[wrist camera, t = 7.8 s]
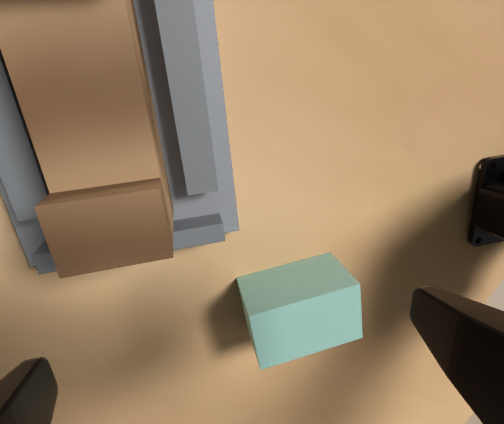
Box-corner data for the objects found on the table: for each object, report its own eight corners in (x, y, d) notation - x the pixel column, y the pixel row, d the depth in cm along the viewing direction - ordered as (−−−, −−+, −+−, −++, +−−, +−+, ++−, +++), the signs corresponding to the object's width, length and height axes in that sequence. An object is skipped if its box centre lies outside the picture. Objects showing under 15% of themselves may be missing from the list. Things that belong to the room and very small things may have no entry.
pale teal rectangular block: (329, 251, 22) (360, 283, 18) (333, 298, 24) (362, 337, 20) (235, 276, 21) (248, 316, 17) (246, 324, 23) (260, 370, 19)
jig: (-112, -130, 12) (-181, -183, 9) (195, -126, 14) (199, -169, 11) (37, 257, 18) (17, 282, 15) (236, 223, 20) (244, 241, 17)
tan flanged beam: (7, -73, 12) (-110, -185, 7) (118, -74, 13) (83, -177, 8) (94, 220, 17) (60, 278, 12) (173, 208, 17) (173, 257, 12)
